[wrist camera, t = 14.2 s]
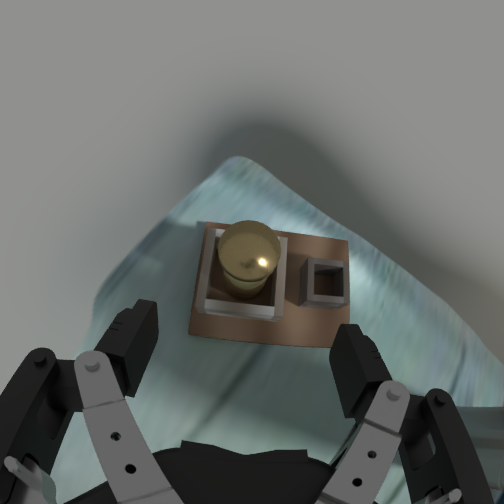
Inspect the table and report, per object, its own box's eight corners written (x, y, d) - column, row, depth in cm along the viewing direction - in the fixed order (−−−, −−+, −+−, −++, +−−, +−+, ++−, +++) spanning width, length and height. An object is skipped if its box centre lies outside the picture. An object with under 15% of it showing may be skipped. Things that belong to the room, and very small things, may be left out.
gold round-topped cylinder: (268, 262, 29) (283, 224, 21) (264, 306, 27) (278, 282, 19) (224, 256, 28) (223, 216, 21) (217, 300, 27) (213, 273, 19)
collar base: (344, 244, 31) (358, 229, 28) (344, 348, 27) (361, 345, 23) (207, 226, 31) (205, 207, 27) (189, 334, 26) (183, 330, 22)
